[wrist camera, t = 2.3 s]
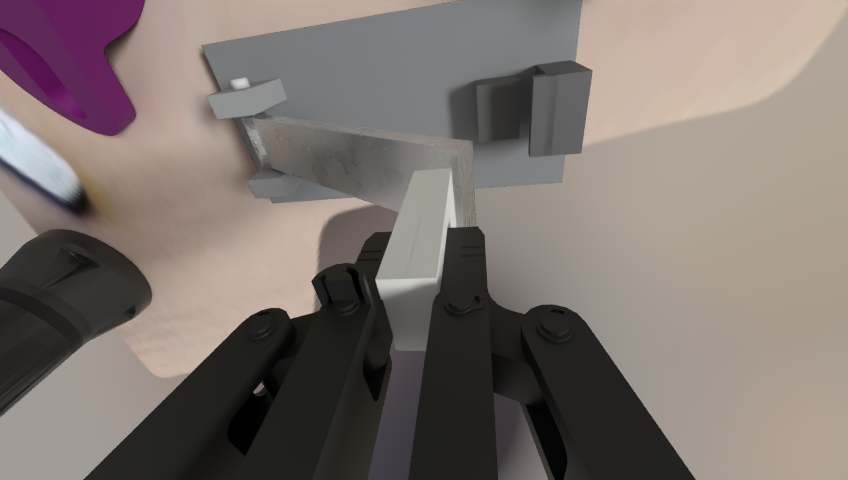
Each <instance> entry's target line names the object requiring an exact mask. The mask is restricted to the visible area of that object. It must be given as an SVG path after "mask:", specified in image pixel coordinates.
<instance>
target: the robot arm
mask: <svg viewBox="0 0 848 480" xmlns="http://www.w3.org/2000/svg"><path fill="white" fill-rule="evenodd" d="M311 282H312V284H313V286H314V289H315V291H316V293H317V295H318V298H319V300H320V302H321V304H322V306H321V308H320V310H319V311H317V312H315V313H312V314H308V315H304V316H300V317H296V318H292V319H290V318H289V316H288V314H287V312H286V311H284V310H282V309H280V308H269V309H265V310H262V311H259V312H257V313H255V314H253V315H251V316H250V317H249V318H247V319H246V320H245V321H244V322H242V323H241V324H240V325H239V326H238V327H237V328H236V329H235V330H234V331H233V332H232V333H231V334H230V335H229V336H228V337H227V338H226V339H225V340H224V341H223V342H222V343H221V344H220V345H219V346H218V347H217V348H216V349H215V350H214V351H213V352H212V353H211V354H210V355H209V356H208V357H207V358H206V359H205V360H204V361H203V362H202V363H201V364H200V365H199V366H198V367H197V368H196V369H195V370H194V371H193V372H192V373H191V374H190V375H189V376H188V377H187V378H186V379H185V380H184V381H183V382H182V383H181V384H180V385H179V386H178V387H177V388H176V389H175V390H174V391H173V392H172V393H171V394H170V395H168V397H166V398H165V400H163V401H162V402H161V403H160V405H158V406H157V407H156V408H155V409H154V410H153V411H152V412H151V413H150V414H149V415H148V416H147V417H146V418H145V419H144V420H143V421H142V422H141V423H140V424H139V425H138V426H137V427H136V428H135V429H134V430H133V431H132V432H131V433H130V434H129V435H128V436H127V437H126V438H125V439H124V440H123V441H122V442H121V443H120V444H119V445H118V446H117V447H116V448H115V449H114V450H113V451H112V452H111V453H110V454H109V455H108V456H107V457H106V458H105V459H104V460H103V461H102V462H101V463H100V464H99V465H98V466H97V467H96V468H95V469H94V470H93V471H92V472H91V473H90V474H89V475H88V476H87V477H86V478H85V479H84V480H367V478H368V474H369V469H370V464H371V460H372V455H373V451H374V446H375V442H376V437H377V433H378V428H379V423H380V419H381V415H382V410H383V406H384V401H385V397H386V392H387V388H388V383H389V378H390V374H391V370H392V360H391V357H390V353H389V352H390V348H391V343H392V339H393V342H394V345H395V349H396V350H406V351H426V354H425V362H424V370H423V376H422V383H421V391H420V398H419V405H418V413H417V421H416V427H415V435H414V441H413V449H412V456H411V463H410V471H409V478H408V480H498V470H497V452H496V435H495V434H496V433H495V414H494V395H493V392H494V393H497V394H500V395H502V396H505V397H508V398H510V399H513V400H516V401H518V402H520V405H521V407H522V410H523V413H524V415H525V418H526V421H527V423H528V426H529V428H530V431H531V434H532V437H533V439H534V442H535V445H536V448H537V450H538V453H539V456H540V458H541V461H542V463H543V466H544V469H545V471H546V474H547V477H548V480H695V478H694V477H693V475H692V474H691V472H690V471H689V470H688V468H687V467H686V465H685V464H684V462H683V461H682V459H681V458H680V457H679V455H678V454H677V453H676V451H675V449H674V448H673V447H672V445H671V444H670V442H669V441H668V439H667V438H666V437H665V435H664V434H663V432H662V431H661V429H660V428H659V426H658V425H657V424H656V422H655V421H654V419H653V418H652V416H651V415H650V414H649V412H648V411H647V409H646V408H645V407H644V405H643V404H642V402H641V401H640V399H639V398H638V396H637V395H636V394H635V392H634V391H633V389H632V388H631V386H630V385H629V383H628V382H627V381H626V379H625V378H624V376H623V375H622V373H621V372H620V371H619V369H618V368H617V366H616V365H615V364H614V362H613V361H612V359H611V358H610V356H609V355H608V353H607V352H606V351H605V349H604V348H603V346H602V345H601V343H600V342H599V341H598V339H597V338H596V337H595V335H594V333H593V332H592V330H591V329H590V328H589V326H588V325H587V323H586V322H585V321H584V320H583V319H582V318H581V317H580V316H579V315H578V314H577V313H575V312H573V311H572V310H570V309H568V308H566V307H561V306H557V305H540V306H537V307H534V308H532V309H530V310H529V311H528V312H527V313H526V314H522V313H518V312H514V311H511V310H507V309H505V308H503V307H501V306H500V305H498V304H496V302H495V301H493V300H492V298H491V297H490V295H489V293H488V289H487V272H486V255H485V236H484V234H483V233H482V231H481V230H480V229H479V228H478V227H477V226H474V227H456V215H455V205H454V194H453V184H452V173H451V168H445V169H433V170H421V171H414V173H413V176H412V179H411V182H410V184H409V187H408V190H407V193H406V195H405V198H404V201H403V204H402V207H401V209H400V212H399V215H398V218H397V221H396V223H395V226H394V229H393V232H376V233H374V234H373V235H372V236H371V237H370V238H368V239H367V240H366V241H365V243H364V245H363V247H362V249H361V253H360V254H359V256H358V258H357V262H355V264H350V263H343V264H336V265H333V266H331V267H328V268H326V269H324V270H323V271H321V272H320V273H318V274H317V275H316V276H315V277H314V279H313V280H312V281H311ZM151 299H152V293H151V289H150V286H149V284H148V282H147V281H146V279H145V278H144V276H143V275H142V274H141V272H140V271H139V270H138V269H137V268H136V267H135V266H134V265H133V264H132V263H131V262H130V261H129V260H128V259H126V258H125V257H124V256H123V255H121V254H120V253H118V252H117V251H115V250H114V249H112V248H111V247H109V246H107V245H106V244H104V243H102V242H100V241H98V240H96V239H94V238H91V237H89V236H86V235H83V234H80V233H77V232H73V231H67V230H51V231H48V232H45V233H43V234H41V235H39V236H37V237H36V238H34V239H32V240H30V241H28V242H27V243H25V244H24V245H23V246H22V247H21V248H20V249H19V250H18V251H17V252H16V253H15V254H14V255H13V256H12V257H11V259H10V260H9V261H8V262H7V263H6V264H5V265H4V266H3V267H2V268H1V269H0V417H1V416H2V415H4V414H5V413H6V412H7V411H8V410H9V409H10V408H11V407H13V406H14V405H15V404H16V403H17V402H18V401H20V400H21V399H22V398H23V397H24V396H25V395H26V394H28V393H29V392H30V391H31V390H32V389H33V388H34V387H35V386H36V385H38V384H39V383H40V382H41V381H42V380H44V379H45V378H46V377H47V376H48V375H49V374H50V373H52V372H53V371H54V370H55V369H56V368H57V367H58V366H59V365H61V364H62V363H63V362H64V361H65V360H66V359H68V358H69V357H70V356H71V355H72V354H73V353H74V352H76V351H77V350H78V349H79V348H80V347H81V346H83V345H84V344H85V343H87V342H88V341H90V340H92V339H94V338H96V337H98V336H100V335H102V334H104V333H106V332H108V331H110V330H112V329H114V328H116V327H118V326H120V325H122V324H124V323H126V322H128V321H130V320H132V319H133V318H135V317H136V316H137V315H139V314H140V313H141V312H142V311H143V310H144V309H145V308H146V307H147V306H148V305H149V304H150V302H151ZM261 382H262V384H263V385H264V388H263V389H262V390H261V391H260V392H259V393H256V394H254V393H253V391H254V390H255V389H256V388H257V387H258V385H259V384H260V383H261Z"/></svg>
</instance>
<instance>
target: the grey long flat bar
mask: <svg viewBox="0 0 848 480" xmlns="http://www.w3.org/2000/svg"><path fill="white" fill-rule="evenodd" d="M241 119H242V121H243V124H244V126H245V128H246V131H247V133H248V135H249V137H250V140H251V142H252V144H253V147H254V149H255V151H256V153H257V156H258V158H259V160H260V162H261V165H262V167H263V169H272V168H273V169H276V170H278V171H281V172H284V173H287V174H290V175H293V176H296V177H299V178H301V179H304V180H307V181H310V182H313V183H316V184H319V185H322V186H325V187H327V188H330V189H333V190H336V191H339V192H342V193H345V194H348V195H350V196H353V197H356V198H359V199H362V200H365V201H368V202H371V203H374V204H376V205H379V206H382V207H386V208H388V209H391V210H394V211H397V212H400V209H401V207H402V204H403V201H404V198H405V195H406V193H407V190H408V187H409V184H410V182H411V179H412V176H413V173H414V171H421V170H433V169H445V168H451V173H452V184H453V194H454V205H455V215H456V227H474V226H476V225H477V223H476V204H475V184H474V166H473V147H472V141H467V140H459V139H451V138H444V137H436V136H428V135H420V134H412V133H405V132H397V131H389V130H381V129H373V128H366V127H358V126H350V125H342V124H334V123H327V122H319V121H311V120H303V119H295V118H288V117H280V116H272V115H266V113H264V112H262V113H257V114H255V115H250V116H244V117H242V118H241Z"/></svg>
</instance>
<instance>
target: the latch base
mask: <svg viewBox="0 0 848 480" xmlns="http://www.w3.org/2000/svg"><path fill="white" fill-rule="evenodd" d="M581 6H582V0H460V1H454V2H448V3H443V4H437V5H431V6H425V7H420V8H414V9H408V10H402V11H397V12H391V13H385V14H379V15H373V16H368V17H362V18H356V19H350V20H345V21H339V22H333V23H327V24H321V25H316V26H310V27H304V28H298V29H293V30H287V31H281V32H275V33H270V34H264V35H258V36H252V37H246V38H241V39H235V40H229V41H223V42H218V43H212V44H206V45H201V46H202V48H203V50H204V53H205V55H206V57H207V59H208V61H209V64H210V66H211V68H212V70H213V73H214V75H215V77H216V79H217V81H218V84H219V86H220V88H221V90H222V91H220V92H217V93H214V94H211V95H208V96H206V97H207V99H208V101H209V103H210V105H211V107H212V109H213V111H214V113H215V115H216V117H217V119H226V118H234V119H235V121H236V124H237V126H238V128H239V130H240V132H241V135H242V137H243V139H244V141H245V144H246V146H247V148H248V150H249V152H250V155H251V157H252V159H253V161H254V163H255V166H256V168H257V170H258V173H256V174H255V175H254V176H252V177H251V178H250V179H248V180H247V182H248V184H249V186H250V188H251V190H252V192H253V195H254V197H255V198H267V197H270V199H271V201H272V203H283V202H297V201H311V200H325V199H338V198H352V197H353V196H350V195H348V194H345V193H342V192H339V191H336V190H333V189H330V188H327V187H325V186H322V185H319V184H316V183H313V182H310V181H307V180H304V179H301V178H299V177H296V176H293V175H290V174H287V173H284V172H281V171H278V170H276V169H273V168H272V169H263V167H262V165H261V162H260V160H259V158H258V156H257V153H256V151H255V149H254V147H253V144H252V142H251V140H250V137H249V135H248V133H247V131H246V128H245V126H244V124H243V121H242V119H241V118H242V117H244V116H250V115H255V114H257V113H262V112H264V113H266V115H272V116H280V117H288V118H295V119H303V120H311V121H319V122H327V123H334V124H342V125H350V126H358V127H366V128H373V129H381V130H389V131H397V132H405V133H412V134H420V135H428V136H436V137H444V138H451V139H459V140H467V141H472V147H473V166H474V184H475V189H477V188H492V187H505V186H519V185H533V184H547V183H559V182H562V178H563V169H564V159H565V155H566V154H578V153H581V150H582V143H583V135H584V128H585V121H586V114H587V107H588V99H589V92H590V85H591V78H592V70H590V69H588V68H586V67H584V66H582V65H580V64H578V63H576V62H575V60H576V51H577V42H578V33H579V24H580V15H581Z"/></svg>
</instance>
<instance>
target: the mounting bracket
mask: <svg viewBox="0 0 848 480" xmlns="http://www.w3.org/2000/svg"><path fill="white" fill-rule="evenodd" d="M144 2H145V0H0V69H1V70H2V71H3V72H4V73H5V74H6V75H7V76H8V77H9V78H10V79H12V80H13V81H14V82H15V83H16V84H18V85H19V86H20V87H21V88H22V89H24V90H25V91H26V92H28V93H29V94H30V95H32V96H33V97H34V98H36V99H37V100H39V101H40V102H41V103H43V104H44V105H46V106H47V107H49V108H50V109H52V110H53V111H55V112H57V113H58V114H60V115H62V116H63V117H65V118H67V119H68V120H70V121H72V122H74V123H76V124H78V125H80V126H82V127H84V128H86V129H88V130H91V131H93V132H96V133H99V134H103V135H108V136H113V135H116V134H118V133H119V132H120V131H121V130H122V129H123V128H125V127H126V126H127V125H128V124H129V123H130V122H131V121H133V120H134V118H135V110H134V108H133V106H132V104H131V102H130V100H129V98H128V97H127V95H126V93H125V91H124V90H123V88H122V86H121V84H120V83H119V81H118V79H117V77H116V75H115V74H114V72H113V70H112V68H111V67H110V65H109V63H108V61H107V60H106V58H105V56H104V49H105V46H106V45H107V44H108V43H109V42H111V41H112V40H114V39H115V38H117V37H118V36H120V35H121V34H123V33H124V32H126V31H127V30H128V29H129V28H130V27H131V26H132V25H133V24H134V23H135V22H136V20H137V19H138V17H139V15H140V13H141V11H142V8H143V5H144Z"/></svg>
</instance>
